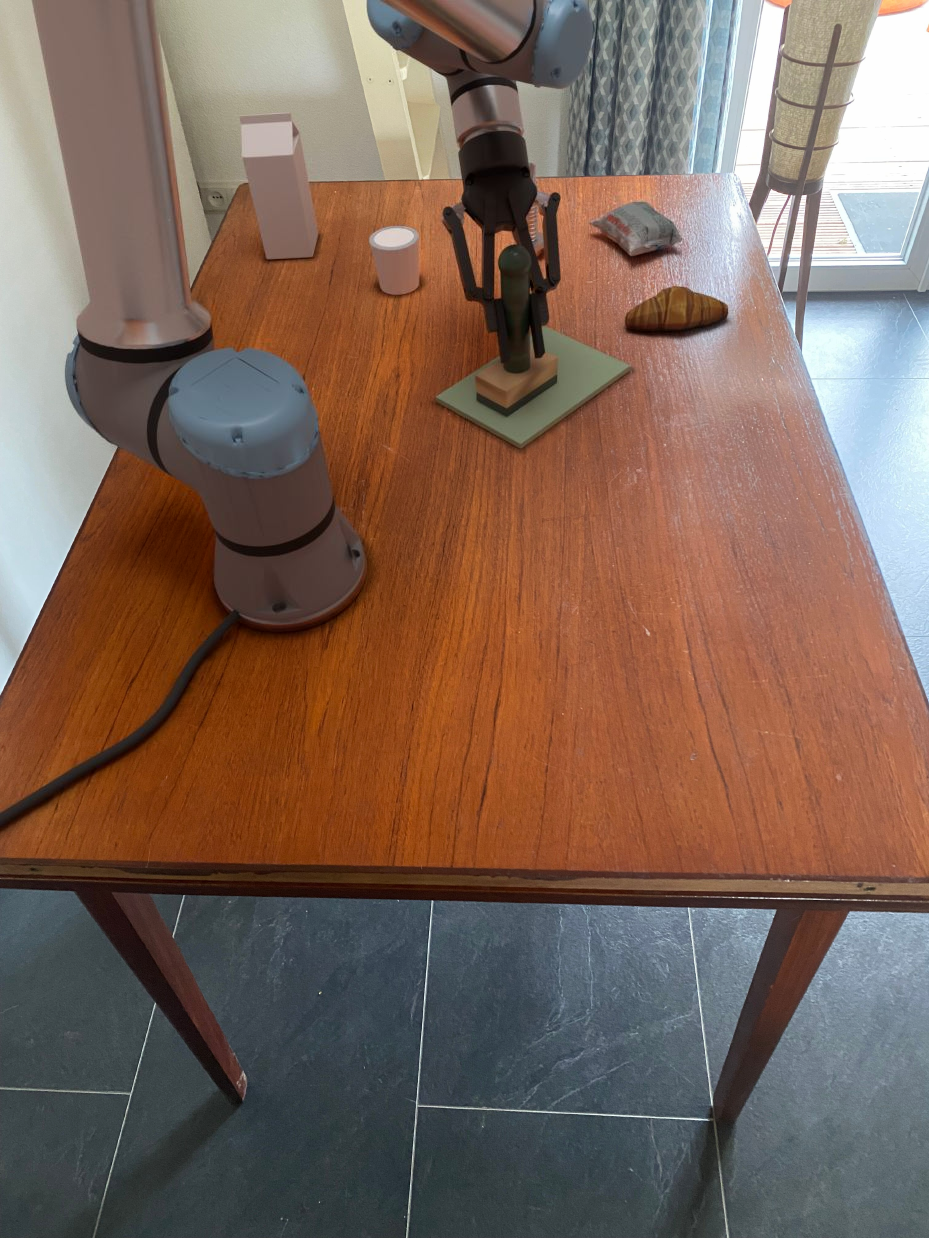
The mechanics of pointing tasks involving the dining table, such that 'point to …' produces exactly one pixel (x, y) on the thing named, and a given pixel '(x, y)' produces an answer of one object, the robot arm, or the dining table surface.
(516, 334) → the scrub brush
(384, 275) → the yogurt cup
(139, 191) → the robot arm
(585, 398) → the mat
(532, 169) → the screw
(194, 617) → the dining table surface
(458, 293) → the dining table surface
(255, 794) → the dining table surface
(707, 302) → the croissant
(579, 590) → the dining table surface
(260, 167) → the milk carton
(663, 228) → the packaged food
